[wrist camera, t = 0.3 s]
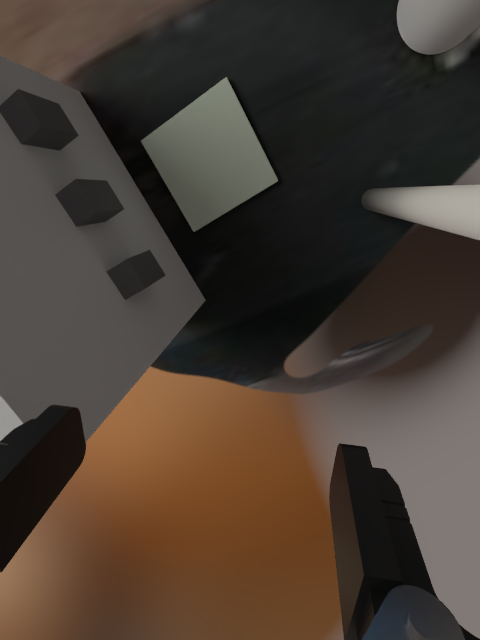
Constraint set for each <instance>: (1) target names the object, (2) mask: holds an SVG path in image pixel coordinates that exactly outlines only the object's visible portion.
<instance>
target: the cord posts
mask: <svg viewBox="0 0 480 640" xmlns="http://www.w3.org/2000/svg"><path fill="white" fill-rule="evenodd" d="M361 203H362V205H363V207H364V208H365V209H367V210H370V211H374V212H377V213H381V214H385V215H388V216H392V217H396V218H399V219H403V220H407V221H411V222H414V223H418V224H422V225H425V226H429V227H433V228H437V229H440V230H444V231H448V232H451V233H455V234H459V235H462V236H466V237H470V238H473V239H477V240H480V185H455V186H427V187H399V188H372V189H369V190H367V191H366V192H365V193H364V194H363V196H362V199H361Z"/></svg>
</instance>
